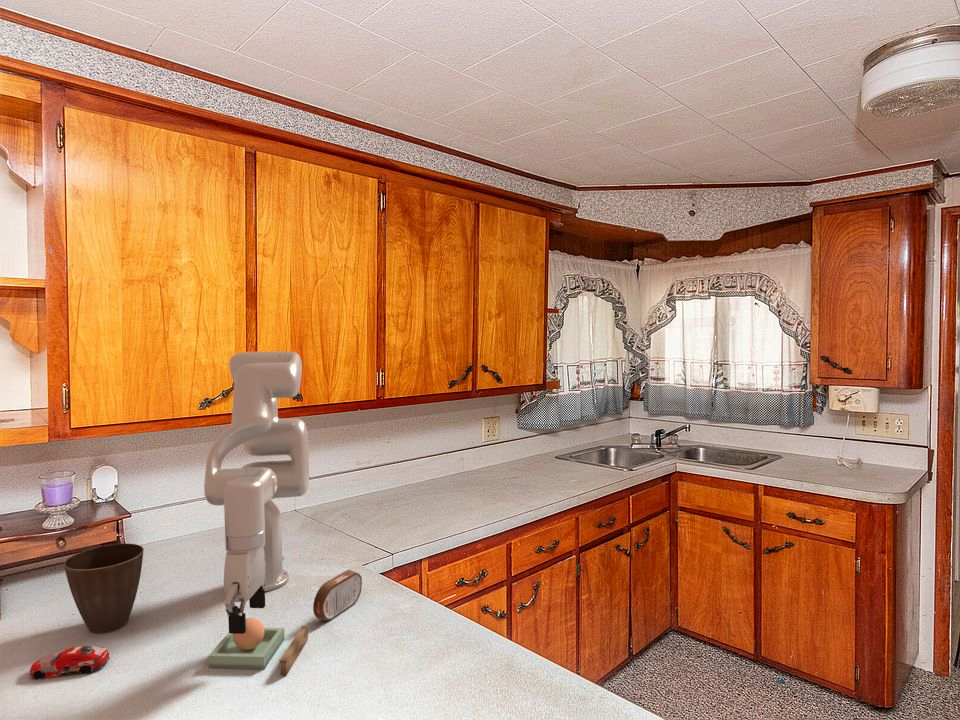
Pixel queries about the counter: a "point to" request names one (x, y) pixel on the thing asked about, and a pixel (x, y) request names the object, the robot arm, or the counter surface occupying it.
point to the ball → (250, 635)
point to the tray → (246, 652)
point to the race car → (70, 662)
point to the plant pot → (105, 584)
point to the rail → (293, 651)
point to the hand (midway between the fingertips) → (247, 619)
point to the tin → (337, 595)
